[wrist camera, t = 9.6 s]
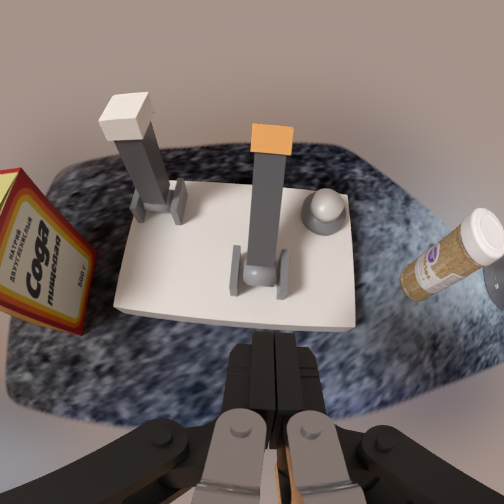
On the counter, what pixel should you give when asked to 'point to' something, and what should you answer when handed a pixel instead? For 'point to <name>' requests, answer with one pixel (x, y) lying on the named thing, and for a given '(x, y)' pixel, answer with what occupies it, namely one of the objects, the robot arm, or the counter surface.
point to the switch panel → (239, 261)
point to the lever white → (138, 147)
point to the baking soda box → (41, 258)
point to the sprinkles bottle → (455, 256)
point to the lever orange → (266, 201)
